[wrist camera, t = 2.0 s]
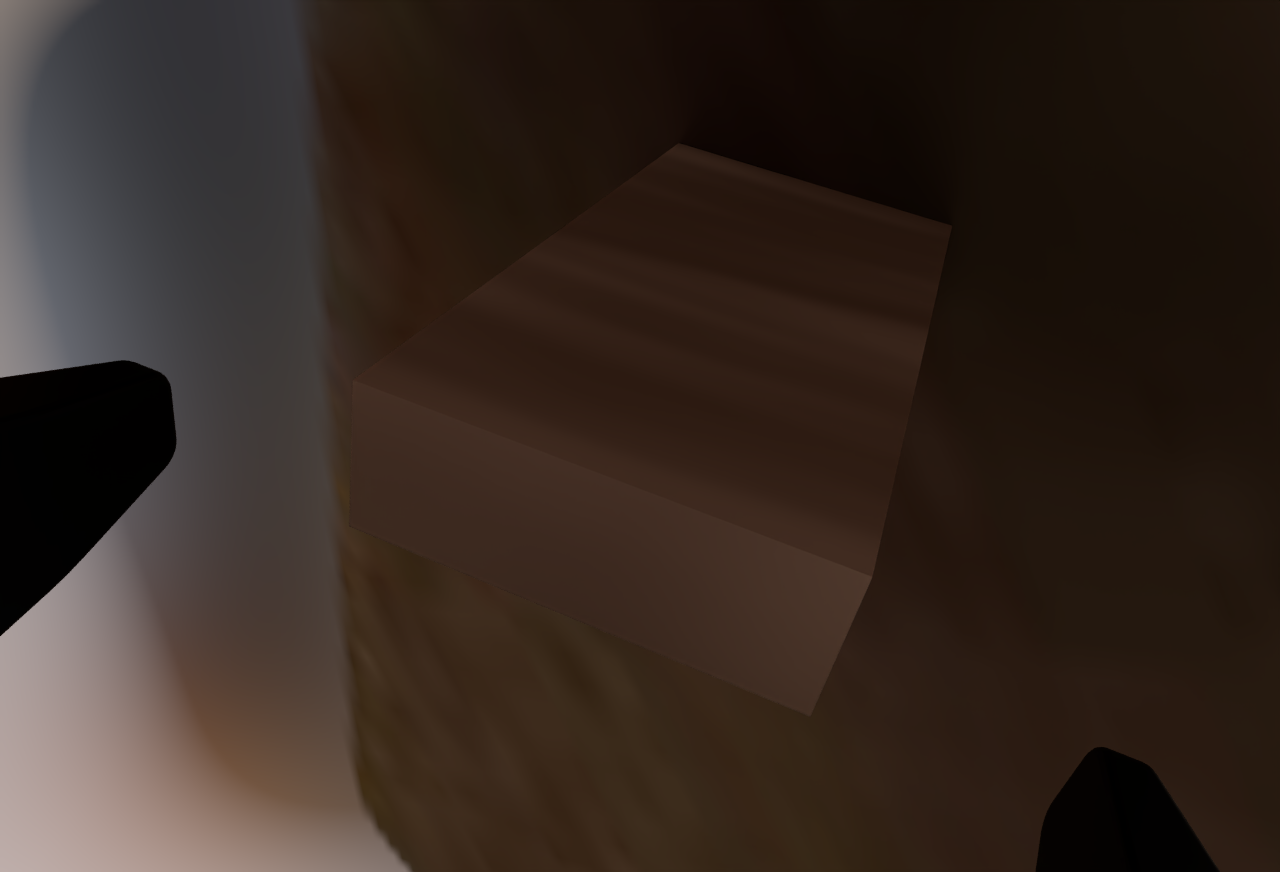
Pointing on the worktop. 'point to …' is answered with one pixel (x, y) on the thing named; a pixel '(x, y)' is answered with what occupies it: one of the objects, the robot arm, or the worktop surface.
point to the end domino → (669, 418)
